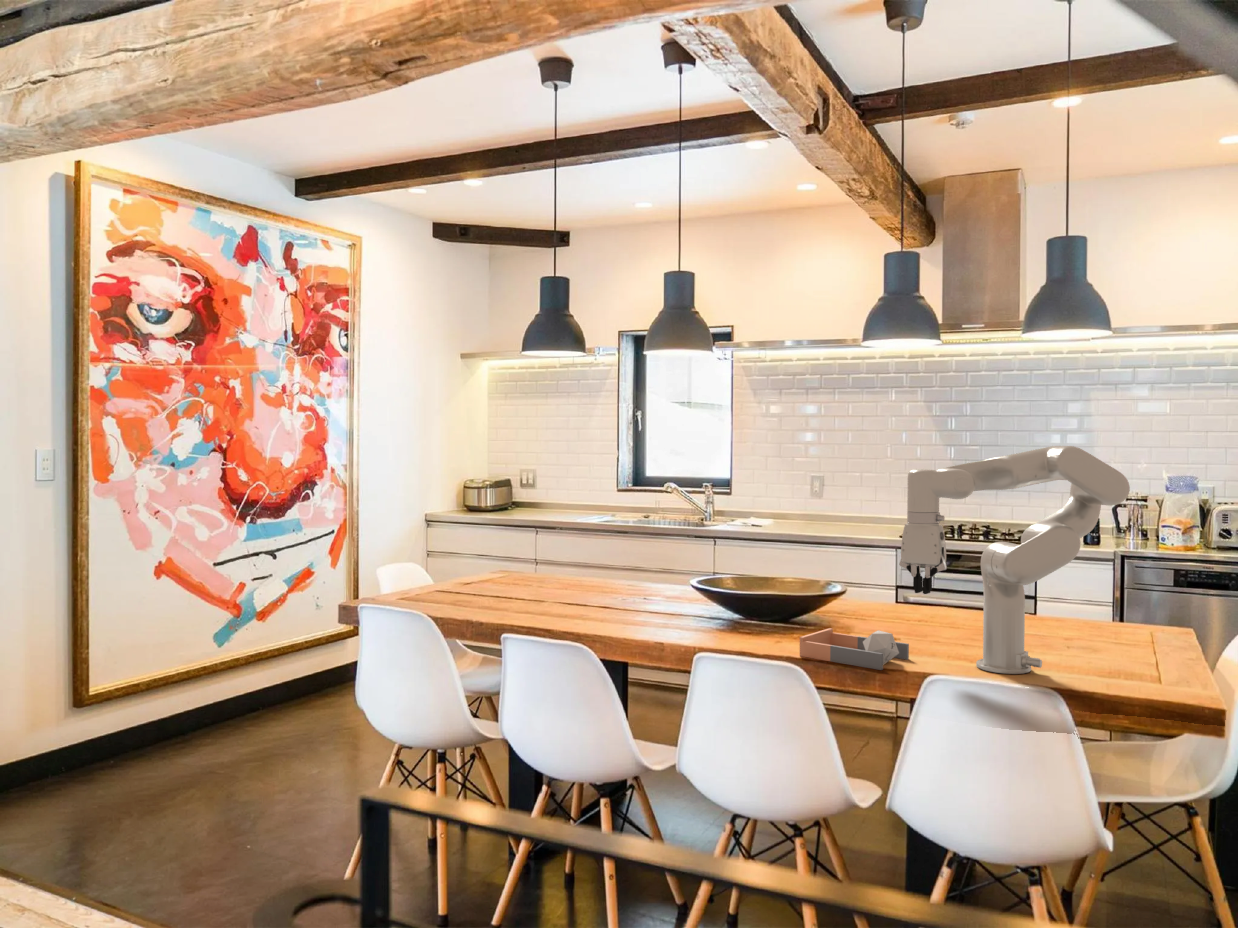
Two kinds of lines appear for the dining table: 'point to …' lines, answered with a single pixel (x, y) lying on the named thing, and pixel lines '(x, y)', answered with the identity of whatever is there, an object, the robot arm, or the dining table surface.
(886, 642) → the die
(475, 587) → the dining table surface
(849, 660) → the two-tone shallow tray
